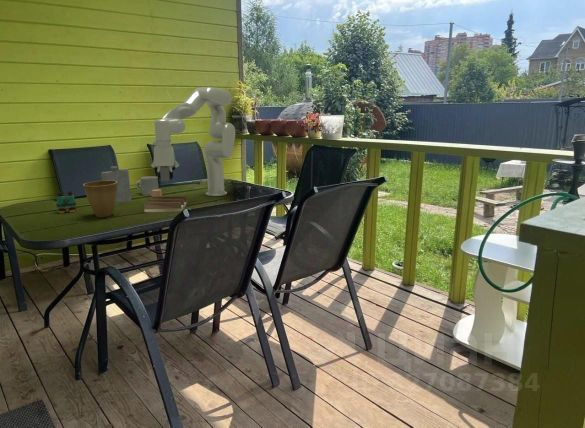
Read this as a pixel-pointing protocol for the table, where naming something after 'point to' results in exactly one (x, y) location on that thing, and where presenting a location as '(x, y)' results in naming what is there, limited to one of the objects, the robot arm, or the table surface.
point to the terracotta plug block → (156, 192)
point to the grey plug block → (165, 173)
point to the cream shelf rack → (166, 204)
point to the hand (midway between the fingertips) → (166, 179)
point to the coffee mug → (147, 184)
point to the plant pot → (101, 196)
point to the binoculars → (66, 202)
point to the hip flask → (119, 183)
